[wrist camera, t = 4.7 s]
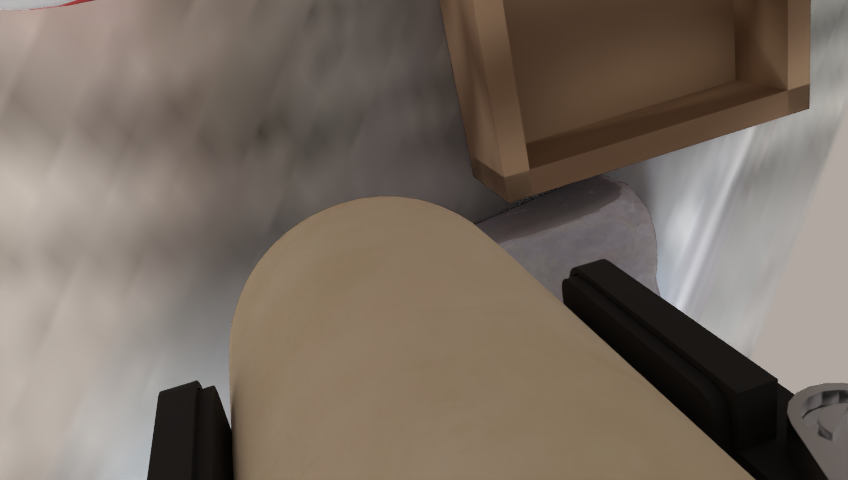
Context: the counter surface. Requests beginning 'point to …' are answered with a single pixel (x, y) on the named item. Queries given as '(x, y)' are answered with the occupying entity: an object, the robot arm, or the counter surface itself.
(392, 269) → the candle
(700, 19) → the tray
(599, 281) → the robot arm
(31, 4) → the canned food
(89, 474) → the counter surface
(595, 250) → the stone block
